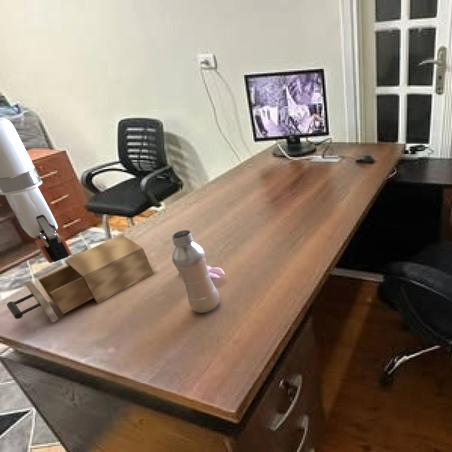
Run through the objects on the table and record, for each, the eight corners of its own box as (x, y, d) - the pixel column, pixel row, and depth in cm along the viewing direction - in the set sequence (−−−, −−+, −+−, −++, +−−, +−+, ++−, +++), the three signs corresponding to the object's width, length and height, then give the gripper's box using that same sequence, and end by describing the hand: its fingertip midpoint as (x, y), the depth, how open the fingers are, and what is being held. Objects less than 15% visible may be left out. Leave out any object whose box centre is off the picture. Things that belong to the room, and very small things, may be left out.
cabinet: (97, 303, 87) (82, 276, 83) (79, 286, 94) (64, 260, 90) (153, 273, 97) (142, 247, 93) (133, 259, 104) (122, 234, 100)
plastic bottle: (223, 309, 81) (200, 236, 71) (193, 320, 79) (165, 246, 69) (218, 294, 86) (196, 223, 76) (190, 304, 84) (163, 232, 74)
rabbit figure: (177, 283, 94) (215, 289, 86) (167, 264, 91) (206, 269, 84) (194, 270, 99) (232, 274, 91) (186, 252, 96) (224, 255, 88)
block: (49, 263, 78) (40, 246, 75) (44, 257, 80) (34, 241, 78) (72, 254, 80) (63, 237, 78) (65, 248, 83) (57, 232, 81)
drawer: (27, 336, 78) (11, 313, 74) (14, 315, 84) (-2, 294, 81) (112, 290, 90) (102, 269, 87) (95, 275, 96) (85, 255, 93)
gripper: (-15, 179, 74) (28, 252, 83) (3, 196, 64) (49, 276, 73) (28, 168, 79) (64, 238, 88) (50, 182, 69) (88, 259, 78)
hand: (57, 254), depth 80 cm, fingers closed on block, 4 cm apart
